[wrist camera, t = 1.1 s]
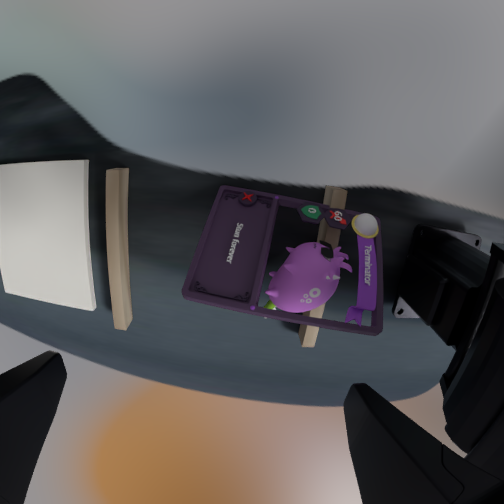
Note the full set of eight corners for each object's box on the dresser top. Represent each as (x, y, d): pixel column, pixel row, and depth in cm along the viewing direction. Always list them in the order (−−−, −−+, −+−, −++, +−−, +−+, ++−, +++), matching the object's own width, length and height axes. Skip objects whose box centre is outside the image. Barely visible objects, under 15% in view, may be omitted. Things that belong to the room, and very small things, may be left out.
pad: (88, 159, 15) (84, 160, 15) (96, 306, 19) (93, 311, 18) (-4, 165, 15) (-9, 166, 14) (9, 289, 18) (5, 292, 17)
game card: (220, 174, 15) (384, 208, 15) (223, 232, 20) (355, 258, 19) (176, 287, 12) (389, 328, 11) (193, 327, 16) (349, 357, 16)
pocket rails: (338, 187, 17) (347, 190, 15) (309, 334, 20) (314, 347, 18) (117, 167, 16) (106, 170, 14) (122, 317, 19) (114, 328, 18)
